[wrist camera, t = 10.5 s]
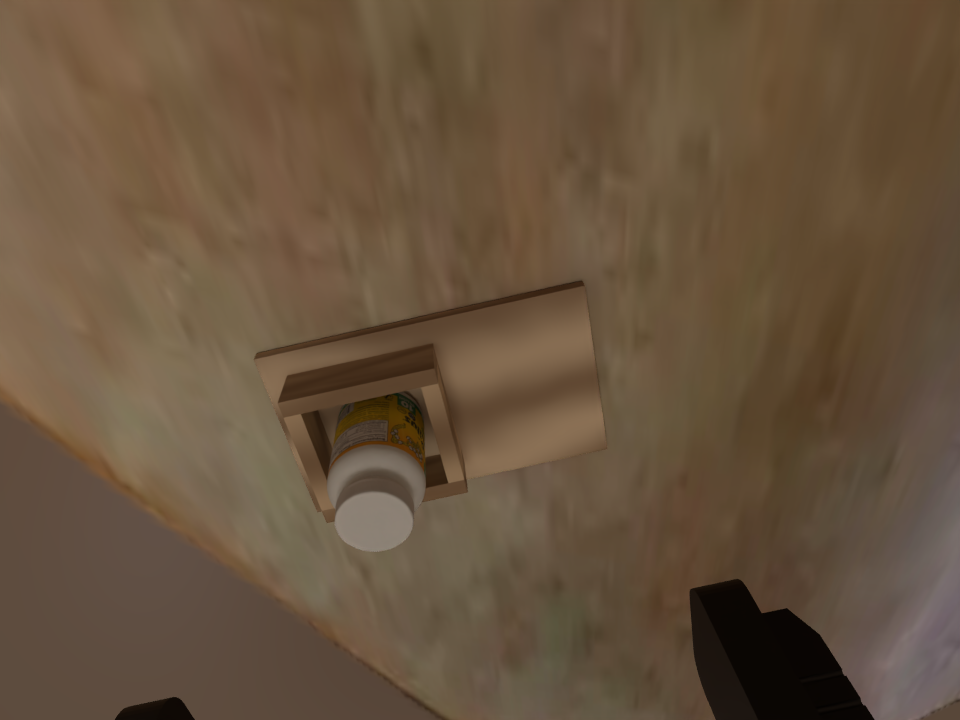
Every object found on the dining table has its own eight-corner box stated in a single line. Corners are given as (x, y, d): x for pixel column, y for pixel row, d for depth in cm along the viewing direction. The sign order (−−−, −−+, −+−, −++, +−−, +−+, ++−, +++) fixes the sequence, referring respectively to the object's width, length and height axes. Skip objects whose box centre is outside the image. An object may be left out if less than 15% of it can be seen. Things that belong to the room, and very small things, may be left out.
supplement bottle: (328, 391, 41) (306, 491, 33) (414, 375, 41) (414, 470, 33) (351, 461, 44) (336, 570, 35) (432, 445, 44) (436, 551, 35)
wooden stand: (256, 353, 40) (241, 386, 37) (581, 280, 40) (598, 307, 37) (318, 504, 46) (311, 545, 43) (604, 442, 46) (620, 478, 42)
